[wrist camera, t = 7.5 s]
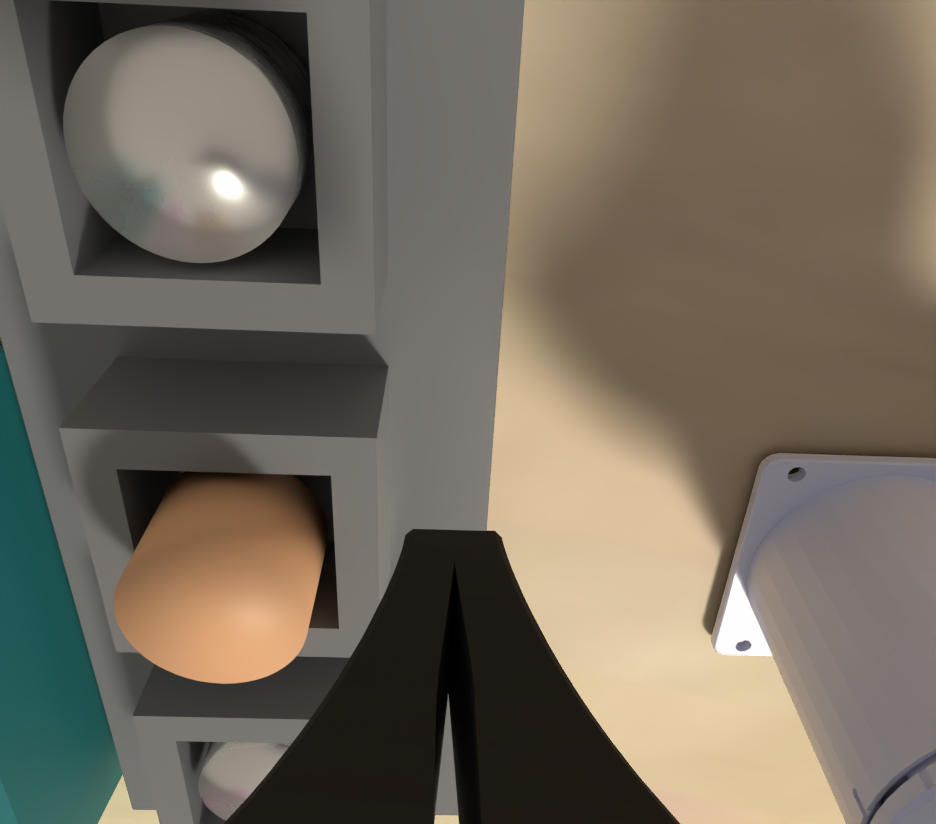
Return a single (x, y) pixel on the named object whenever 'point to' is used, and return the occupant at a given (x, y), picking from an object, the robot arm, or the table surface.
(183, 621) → the middle knob
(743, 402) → the table surface
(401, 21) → the control panel
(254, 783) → the knob
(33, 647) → the teal l-shaped bracket
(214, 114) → the knob
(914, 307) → the table surface
